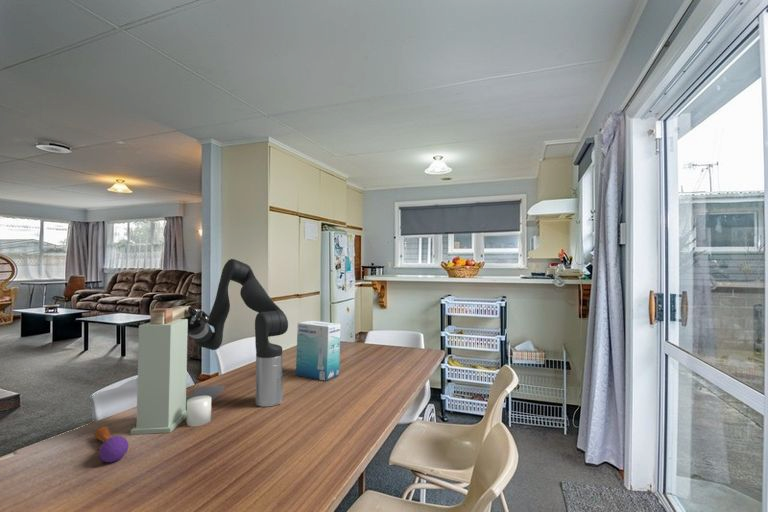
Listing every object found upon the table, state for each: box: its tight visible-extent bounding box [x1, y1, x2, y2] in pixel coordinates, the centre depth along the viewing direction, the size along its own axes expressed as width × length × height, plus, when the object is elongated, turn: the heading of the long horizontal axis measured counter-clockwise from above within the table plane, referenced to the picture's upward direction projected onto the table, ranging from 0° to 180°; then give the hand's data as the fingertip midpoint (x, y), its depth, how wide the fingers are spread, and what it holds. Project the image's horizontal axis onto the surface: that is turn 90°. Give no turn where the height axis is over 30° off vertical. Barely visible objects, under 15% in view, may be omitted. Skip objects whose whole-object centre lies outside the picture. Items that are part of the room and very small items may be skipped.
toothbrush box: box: [295, 320, 342, 382], centre depth 161 cm, size 18×10×24 cm, turn 63°
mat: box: [186, 385, 226, 410], centre depth 133 cm, size 10×22×1 cm, turn 7°
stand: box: [130, 319, 188, 435], centre depth 112 cm, size 11×14×32 cm
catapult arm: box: [149, 305, 192, 325], centre depth 118 cm, size 4×20×4 cm, turn 7°
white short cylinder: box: [185, 396, 212, 427], centre depth 113 cm, size 7×7×7 cm
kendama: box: [94, 426, 129, 463], centre depth 95 cm, size 6×6×20 cm
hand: (179, 309), depth 123 cm, fingers open, 6 cm apart
